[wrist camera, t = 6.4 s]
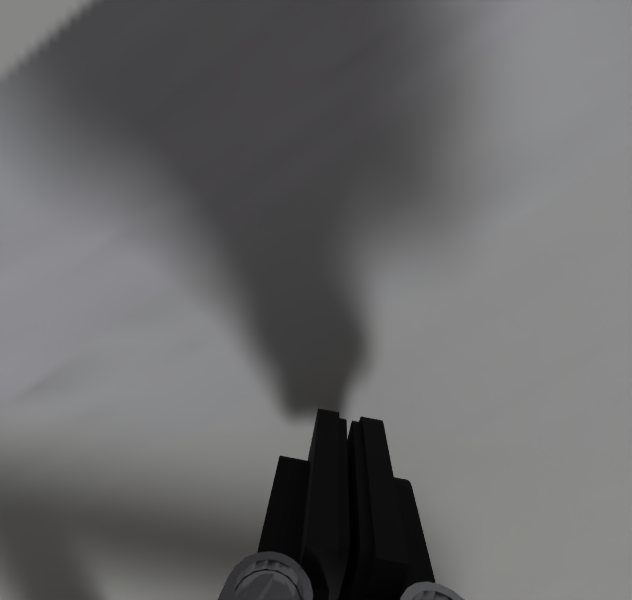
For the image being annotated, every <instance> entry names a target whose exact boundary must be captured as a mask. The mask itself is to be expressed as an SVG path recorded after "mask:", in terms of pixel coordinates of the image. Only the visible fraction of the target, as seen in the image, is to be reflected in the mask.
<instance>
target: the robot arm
mask: <svg viewBox="0 0 632 600" xmlns="http://www.w3.org/2000/svg"><path fill="white" fill-rule="evenodd" d="M218 600H464V599H463V598H462V597H460V596H459V595H458V594H456V593H455V592H454V591H453V590H451V589H449V588H446V587H444V586H442V585H440V584H436V583H435V579H434V575H433V571H432V567H431V563H430V559H429V554H428V550H427V546H426V542H425V538H424V534H423V530H422V526H421V522H420V518H419V514H418V510H417V506H416V502H415V498H414V494H413V489H412V486H411V483H410V482H409V481H408V480H405V479H400V478H395V477H394V476H393V471H392V466H391V461H390V455H389V450H388V445H387V440H386V434H385V429H384V424H383V421H382V420H377V419H371V418H366V417H361V418H360V420H359V422H356V421H352V423H351V426H350V431H349V435H348V439H347V421H346V419H340V418H339V412H334V411H329V410H324V409H318V412H317V417H316V422H315V427H314V432H313V437H312V442H311V447H310V452H309V457H308V461H305V460H300V459H295V458H290V457H284V456H280V457H279V461H278V465H277V469H276V474H275V478H274V482H273V487H272V491H271V495H270V500H269V504H268V508H267V513H266V517H265V521H264V526H263V530H262V534H261V539H260V543H259V548H258V552H257V553H255V554H253V555H250V556H248V557H246V558H244V559H243V560H242V561H241V562H240V563H238V564H237V565H236V566H235V567H234V569H233V570H232V572H231V573H230V575H229V576H228V578H227V580H226V582H225V585H224V587H223V589H222V591H221V593H220V595H219V598H218Z"/></svg>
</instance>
